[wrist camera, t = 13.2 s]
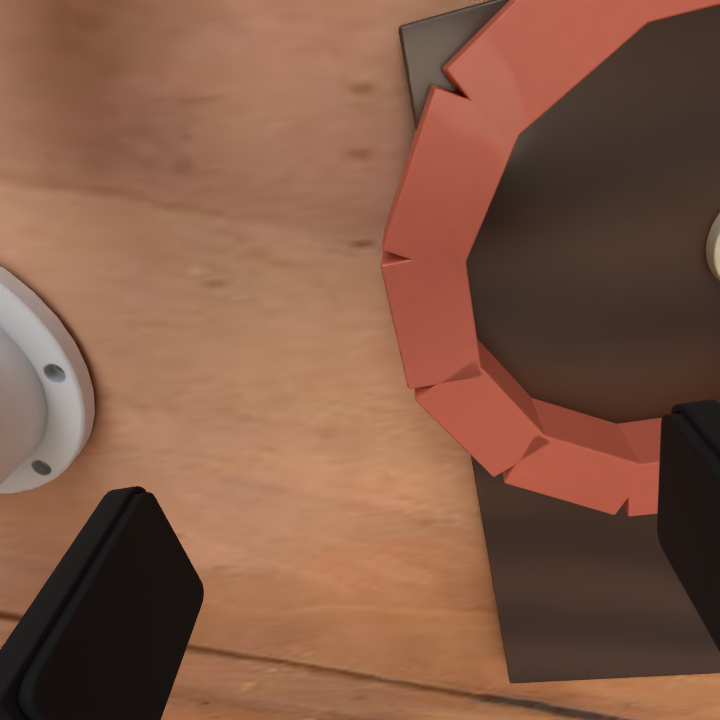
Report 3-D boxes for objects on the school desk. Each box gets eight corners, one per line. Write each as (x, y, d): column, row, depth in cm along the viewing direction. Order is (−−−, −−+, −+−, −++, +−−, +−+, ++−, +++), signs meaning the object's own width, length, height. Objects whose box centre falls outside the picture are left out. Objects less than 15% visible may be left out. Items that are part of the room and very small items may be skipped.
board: (398, 29, 16) (397, 26, 14) (1203, -196, 12) (1298, -227, 11) (505, 657, 30) (510, 684, 29) (892, 634, 26) (918, 664, 25)
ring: (1151, -244, 11) (1325, -316, 9) (928, 434, 19) (991, 479, 17) (331, 0, 14) (318, -11, 12) (438, 492, 22) (441, 536, 20)
